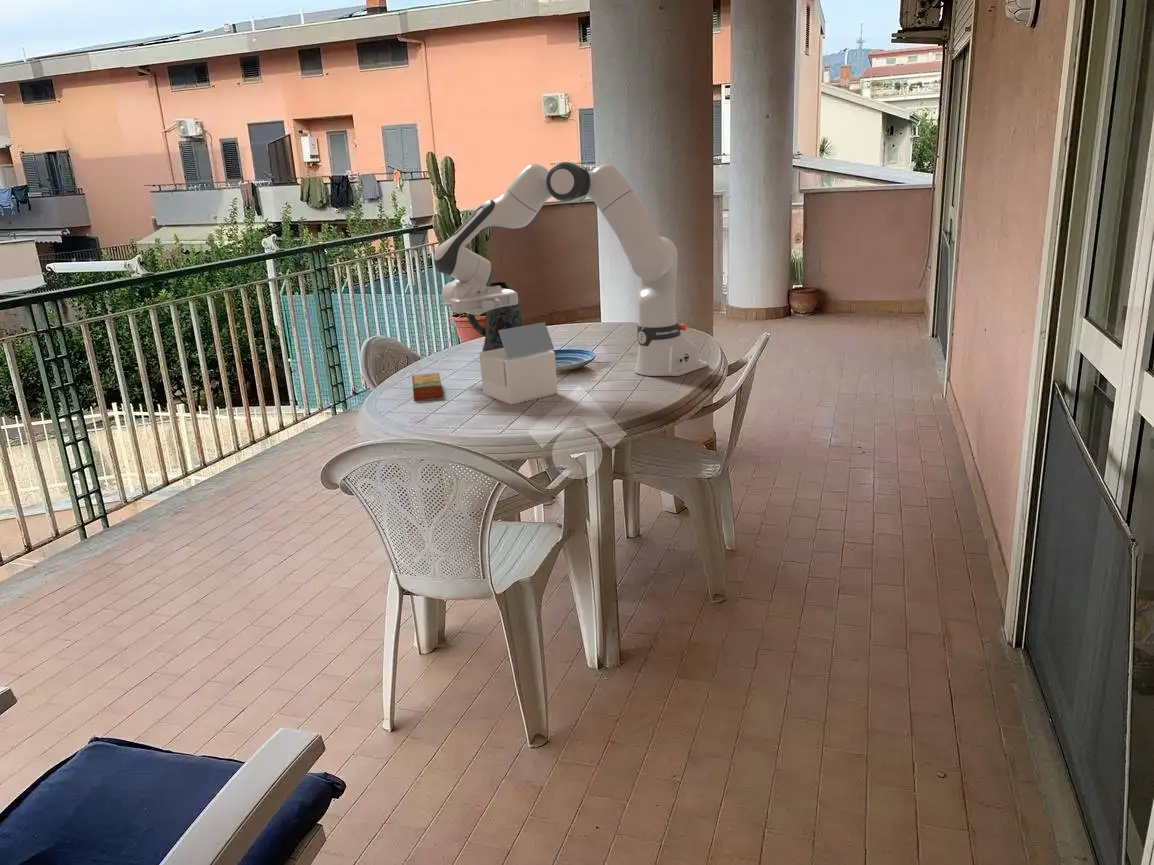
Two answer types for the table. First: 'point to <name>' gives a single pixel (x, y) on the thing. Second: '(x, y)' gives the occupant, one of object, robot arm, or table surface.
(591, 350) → the table surface
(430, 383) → the carton
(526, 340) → the flap
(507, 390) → the shipping box
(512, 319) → the beer stein
